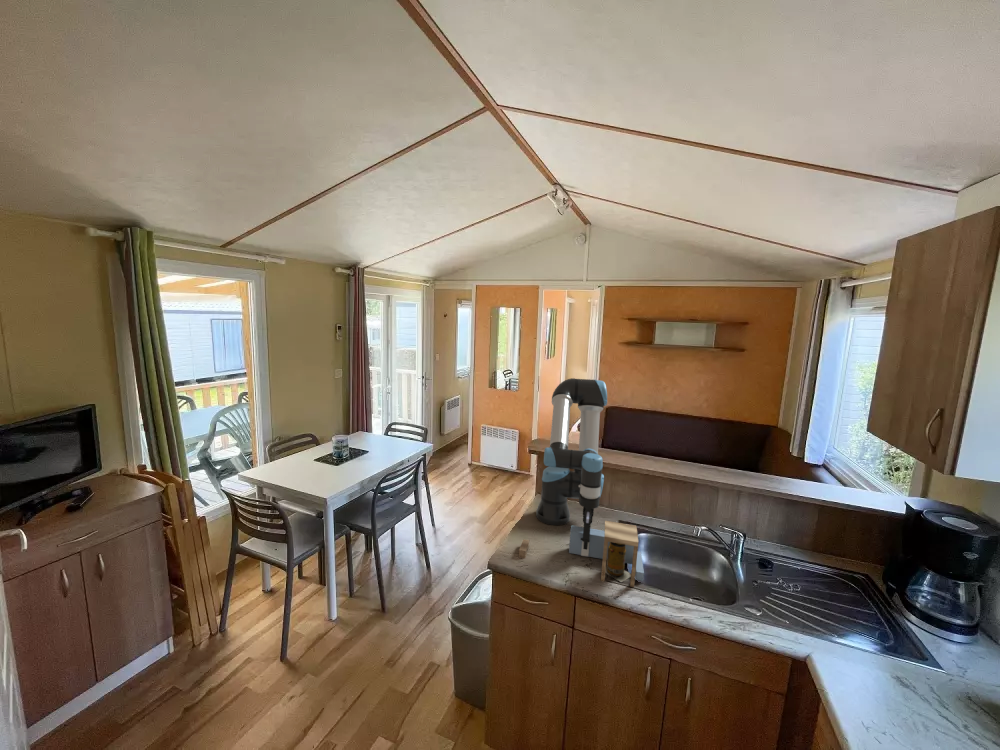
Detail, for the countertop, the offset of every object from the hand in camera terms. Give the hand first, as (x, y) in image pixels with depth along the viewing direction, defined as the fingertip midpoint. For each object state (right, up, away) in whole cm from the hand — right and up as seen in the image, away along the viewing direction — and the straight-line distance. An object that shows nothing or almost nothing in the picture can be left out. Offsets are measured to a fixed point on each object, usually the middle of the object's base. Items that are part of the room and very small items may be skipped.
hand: (585, 551), depth 159 cm
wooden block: (-24, 0, 0) cm, 24 cm away
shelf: (+9, -3, -12) cm, 15 cm away
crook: (+6, -1, -6) cm, 9 cm away
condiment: (+9, -3, -11) cm, 15 cm away
